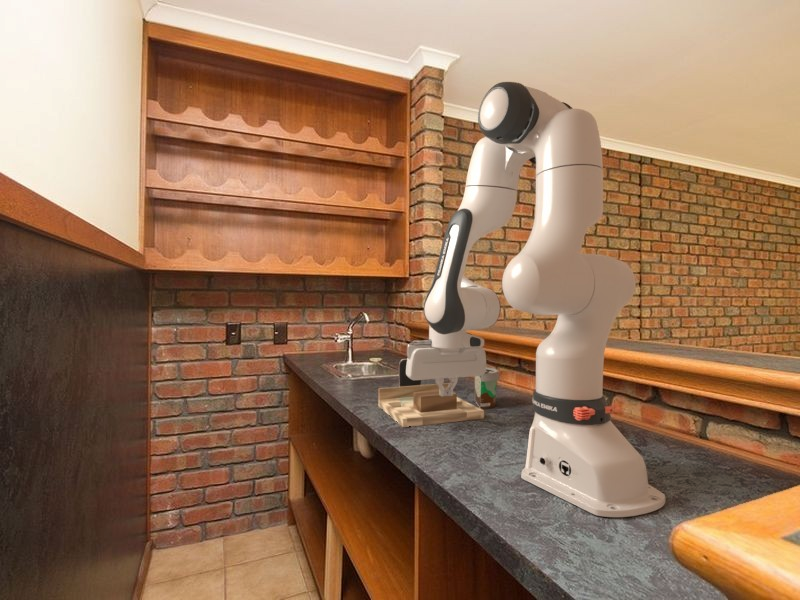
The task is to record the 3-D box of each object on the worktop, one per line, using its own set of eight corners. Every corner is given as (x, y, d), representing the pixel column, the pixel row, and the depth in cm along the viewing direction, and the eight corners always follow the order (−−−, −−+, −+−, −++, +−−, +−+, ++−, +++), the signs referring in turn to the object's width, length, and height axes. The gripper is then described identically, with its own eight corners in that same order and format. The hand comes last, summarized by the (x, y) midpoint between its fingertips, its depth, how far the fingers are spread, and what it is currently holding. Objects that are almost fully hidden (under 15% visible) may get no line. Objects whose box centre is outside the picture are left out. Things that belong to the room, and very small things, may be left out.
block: (456, 409, 108) (456, 393, 108) (420, 412, 105) (420, 396, 105) (447, 404, 113) (448, 389, 113) (413, 407, 110) (413, 392, 109)
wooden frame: (484, 418, 107) (484, 398, 107) (403, 427, 100) (403, 406, 99) (448, 399, 126) (448, 382, 126) (378, 405, 118) (378, 388, 118)
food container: (503, 411, 114) (504, 374, 114) (481, 410, 114) (481, 374, 114) (494, 399, 126) (494, 366, 126) (474, 399, 126) (474, 366, 126)
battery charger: (420, 393, 133) (420, 357, 133) (421, 396, 129) (421, 359, 129) (398, 393, 133) (398, 357, 133) (398, 396, 129) (399, 359, 129)
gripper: (411, 342, 95) (410, 402, 96) (490, 339, 102) (488, 395, 103) (402, 338, 101) (401, 395, 102) (477, 336, 108) (475, 389, 109)
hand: (446, 395), depth 102 cm, fingers closed
